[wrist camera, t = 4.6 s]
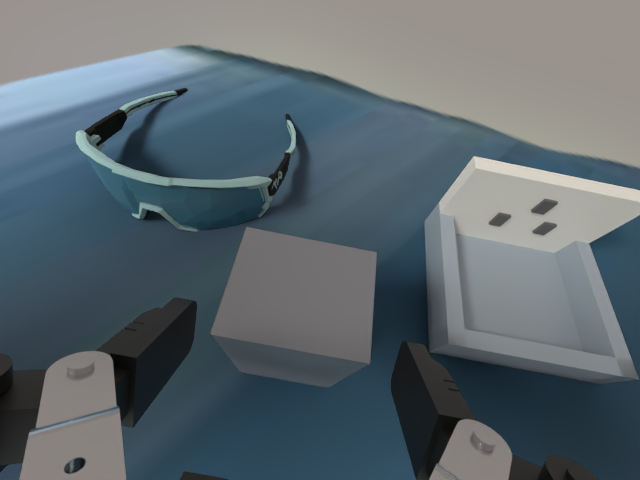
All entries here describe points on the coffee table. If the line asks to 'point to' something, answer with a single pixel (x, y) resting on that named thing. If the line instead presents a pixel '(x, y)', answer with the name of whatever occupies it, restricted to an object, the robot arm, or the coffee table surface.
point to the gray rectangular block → (297, 309)
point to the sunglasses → (179, 181)
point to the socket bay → (526, 272)
